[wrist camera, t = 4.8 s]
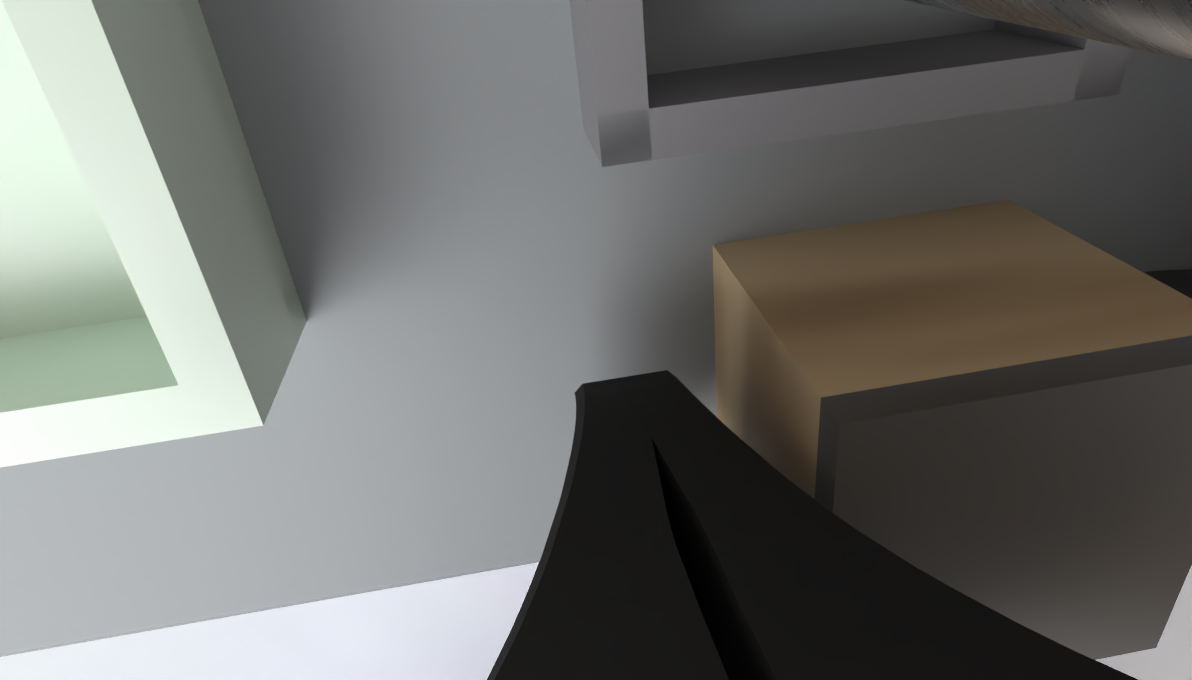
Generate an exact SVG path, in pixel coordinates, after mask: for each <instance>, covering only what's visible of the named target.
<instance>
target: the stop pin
mask: <svg viewBox="0 0 1192 680" xmlns="http://www.w3.org/2000/svg"><path fill="white" fill-rule="evenodd" d="M904 1H909V2H913V3H918V4H923V5H928V6H932V7H937V8H942V9H947V10H952V11H956V12H961V13H966V14H971V15H976V16H980V17H985V18H990V19H995V20H1000V21H1004V22H1009V23H1014V24H1019V25H1023V26H1028V27H1033V28H1038V29H1043V30H1047V31H1052V32H1057V33H1062V34H1067V35H1071V36H1076V37H1081V38H1086V39H1090V40H1095V41H1100V42H1105V43H1110V44H1114V45H1119V46H1124V47H1129V48H1134V49H1138V50H1143V51H1148V52H1153V53H1158V54H1162V55H1167V56H1172V57H1177V58H1181V59H1186V60H1191V61H1192V0H904Z"/></svg>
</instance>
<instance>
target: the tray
mask: <svg viewBox="0 0 1192 680" xmlns="http://www.w3.org/2000/svg"><path fill="white" fill-rule="evenodd" d="M306 322H307V321H306V318H305V315H304V312H303V309H302V306H301V303H300V300H299V297H298V294H297V291H296V288H295V285H294V282H293V279H292V276H291V273H290V270H289V267H288V265H287V262H286V259H285V256H284V253H283V250H282V247H281V244H280V241H279V238H278V235H277V232H276V229H275V226H274V223H273V220H272V217H271V214H270V211H269V208H268V205H267V203H266V200H265V197H264V194H263V191H262V188H261V185H260V182H259V179H258V176H257V173H256V170H255V167H254V164H253V161H252V158H251V155H250V152H249V149H248V146H247V143H246V140H245V138H244V135H243V132H242V129H241V126H240V123H239V120H238V117H237V114H236V111H235V108H234V105H233V102H232V99H231V96H230V93H229V90H228V87H227V84H226V81H225V78H224V76H223V73H222V70H221V67H220V64H219V61H218V58H217V55H216V52H215V49H214V46H213V43H212V40H211V37H210V34H209V31H208V28H207V25H206V22H205V19H204V16H203V14H202V11H201V8H200V5H199V2H198V0H0V467H7V466H13V465H19V464H26V463H32V462H38V461H44V460H51V459H57V458H63V457H69V456H76V455H82V454H88V453H95V452H101V451H107V450H113V449H120V448H126V447H132V446H138V445H145V444H151V443H157V442H164V441H170V440H176V439H182V438H189V437H195V436H201V435H207V434H214V433H220V432H226V431H232V430H239V429H245V428H251V427H258V426H264V423H265V421H266V418H267V416H268V414H269V411H270V409H271V406H272V404H273V401H274V399H275V397H276V394H277V392H278V389H279V387H280V385H281V382H282V380H283V377H284V375H285V373H286V370H287V368H288V365H289V363H290V360H291V358H292V356H293V353H294V351H295V348H296V346H297V344H298V341H299V339H300V336H301V334H302V332H303V329H304V327H305V324H306Z"/></svg>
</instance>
